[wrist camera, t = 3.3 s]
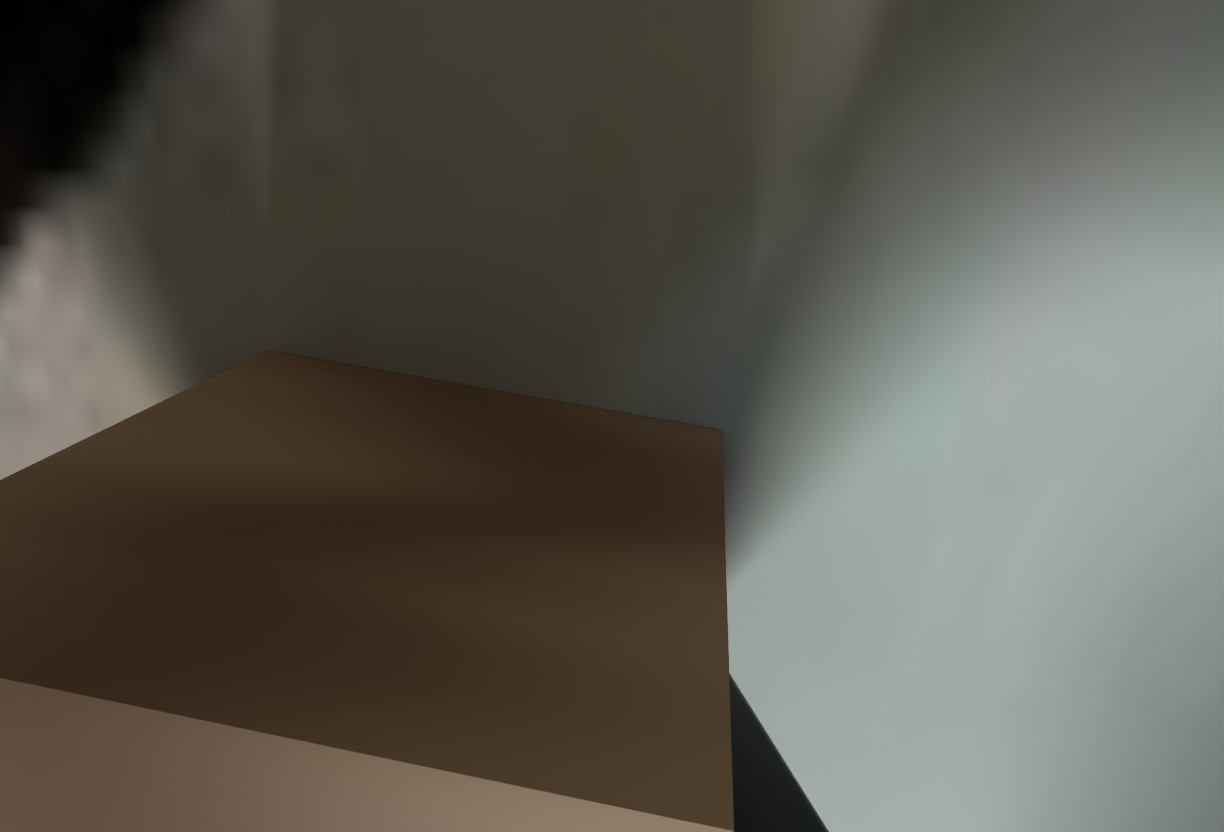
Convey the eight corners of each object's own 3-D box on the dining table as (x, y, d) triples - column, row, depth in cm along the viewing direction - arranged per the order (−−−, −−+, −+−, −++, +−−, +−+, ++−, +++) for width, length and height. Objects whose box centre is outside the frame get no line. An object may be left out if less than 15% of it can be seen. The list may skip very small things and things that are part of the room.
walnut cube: (721, 430, 8) (733, 831, 3) (647, 788, 10) (589, 1373, 5) (266, 350, 8) (-284, 618, 4) (274, 711, 10) (-94, 1198, 6)
